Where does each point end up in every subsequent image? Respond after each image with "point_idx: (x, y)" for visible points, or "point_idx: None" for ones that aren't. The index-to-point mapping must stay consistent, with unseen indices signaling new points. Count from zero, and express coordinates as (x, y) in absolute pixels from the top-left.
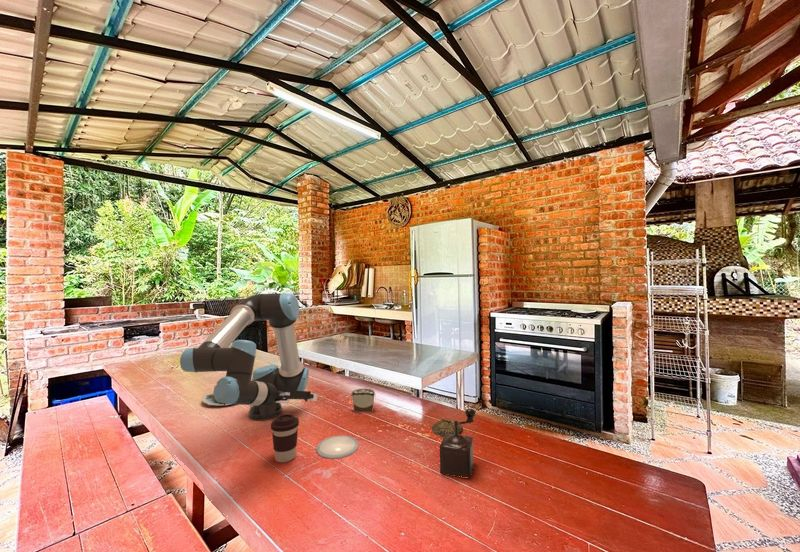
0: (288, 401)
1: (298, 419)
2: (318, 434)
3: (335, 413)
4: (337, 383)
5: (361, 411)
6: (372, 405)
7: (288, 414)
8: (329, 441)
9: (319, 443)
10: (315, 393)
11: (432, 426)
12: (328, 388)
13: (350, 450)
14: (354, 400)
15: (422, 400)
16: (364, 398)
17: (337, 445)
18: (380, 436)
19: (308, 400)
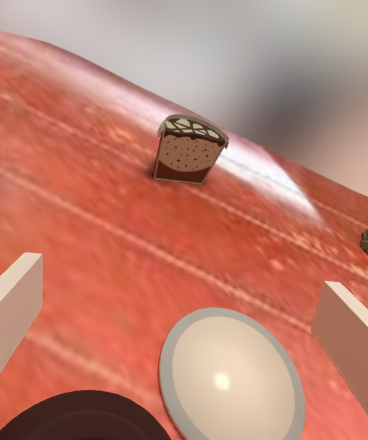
0: (39, 299)
1: (165, 433)
2: (112, 302)
3: (102, 182)
4: (29, 55)
5: (174, 179)
6: (208, 168)
7: (84, 430)
8: (191, 354)
9: (163, 377)
10: (352, 295)
11: (364, 245)
12: (12, 68)
13: (295, 399)
14: (164, 150)
15: (267, 150)
16: (195, 149)
17: (235, 376)
18: (298, 292)
19: (360, 399)
